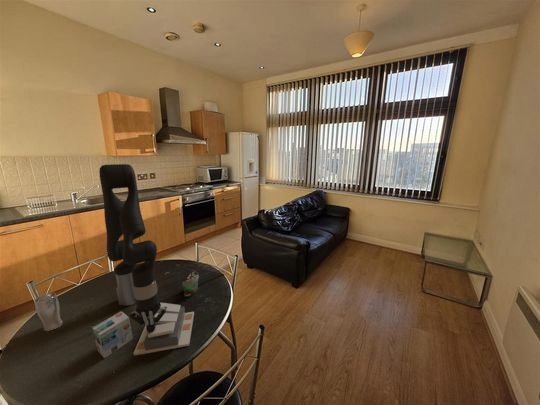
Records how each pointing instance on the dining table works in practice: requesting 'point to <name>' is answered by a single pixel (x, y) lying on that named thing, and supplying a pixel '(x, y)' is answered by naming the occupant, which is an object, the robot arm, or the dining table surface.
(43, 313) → the beer glass
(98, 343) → the light bulb box
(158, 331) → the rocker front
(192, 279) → the food container
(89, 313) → the dining table surface
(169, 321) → the rocker middle
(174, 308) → the rocker back
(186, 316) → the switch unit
